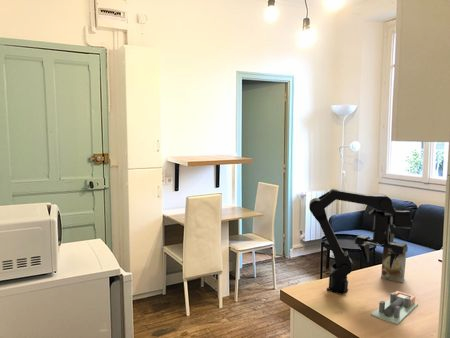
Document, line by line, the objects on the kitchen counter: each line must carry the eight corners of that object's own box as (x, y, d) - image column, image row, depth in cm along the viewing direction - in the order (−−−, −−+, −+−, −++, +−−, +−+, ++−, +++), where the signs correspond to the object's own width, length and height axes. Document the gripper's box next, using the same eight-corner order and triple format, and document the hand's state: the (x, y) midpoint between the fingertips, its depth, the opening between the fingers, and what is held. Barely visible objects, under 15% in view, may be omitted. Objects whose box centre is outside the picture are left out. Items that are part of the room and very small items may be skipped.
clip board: (371, 315, 130) (371, 304, 130) (393, 297, 145) (393, 287, 145) (397, 324, 124) (398, 313, 124) (417, 304, 139) (418, 294, 139)
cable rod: (381, 315, 130) (381, 308, 129) (399, 299, 142) (399, 293, 142) (390, 318, 127) (391, 311, 127) (407, 302, 140) (408, 296, 139)
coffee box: (380, 278, 164) (382, 243, 163) (382, 273, 170) (385, 239, 168) (403, 283, 160) (405, 246, 158) (404, 278, 165) (407, 243, 163)
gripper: (413, 227, 144) (411, 266, 146) (366, 219, 157) (364, 254, 159) (403, 232, 136) (400, 273, 138) (355, 223, 149) (353, 261, 151)
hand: (379, 265), depth 146 cm, fingers open, 9 cm apart
